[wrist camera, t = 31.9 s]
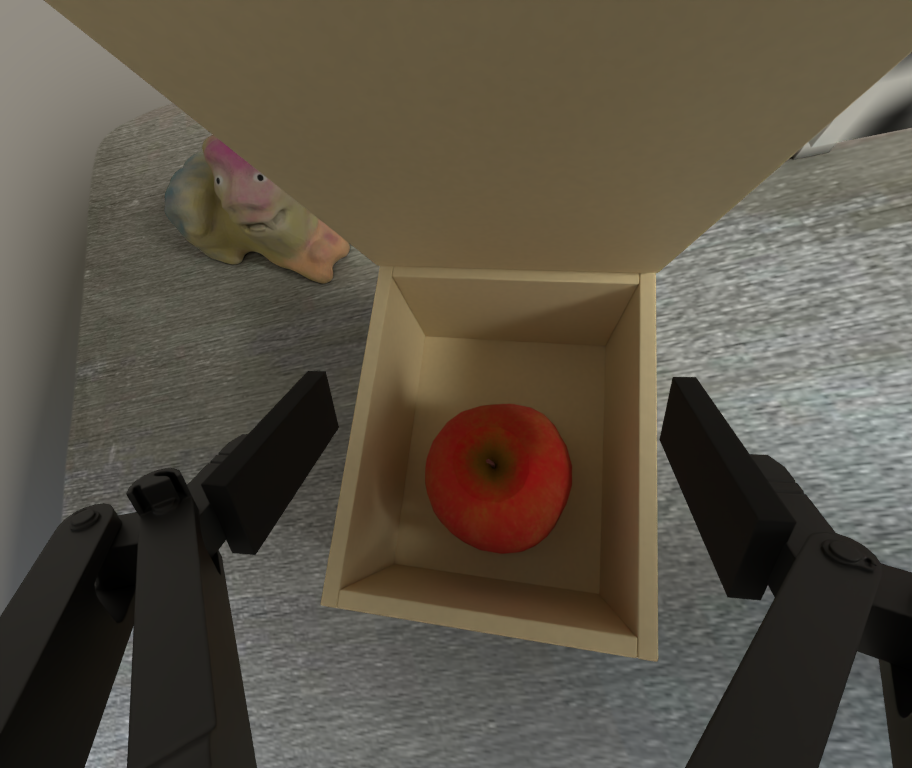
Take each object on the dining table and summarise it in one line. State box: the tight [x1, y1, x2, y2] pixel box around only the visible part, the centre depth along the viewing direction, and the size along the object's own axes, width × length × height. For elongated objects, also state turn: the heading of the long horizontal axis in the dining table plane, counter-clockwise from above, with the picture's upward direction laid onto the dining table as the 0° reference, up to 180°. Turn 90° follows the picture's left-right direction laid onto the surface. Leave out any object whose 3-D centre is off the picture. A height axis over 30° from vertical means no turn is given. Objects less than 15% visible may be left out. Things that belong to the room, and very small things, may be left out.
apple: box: [425, 404, 572, 554], centre depth 24 cm, size 8×8×11 cm
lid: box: [44, 0, 912, 273], centre depth 13 cm, size 18×15×9 cm
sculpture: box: [165, 135, 350, 284], centre depth 33 cm, size 15×8×10 cm, turn 79°
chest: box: [321, 266, 658, 662], centre depth 25 cm, size 18×15×10 cm
